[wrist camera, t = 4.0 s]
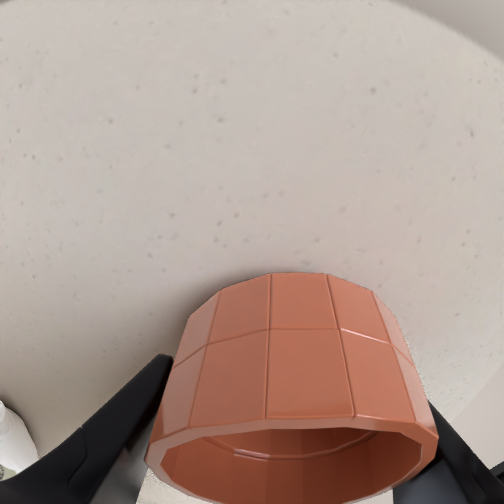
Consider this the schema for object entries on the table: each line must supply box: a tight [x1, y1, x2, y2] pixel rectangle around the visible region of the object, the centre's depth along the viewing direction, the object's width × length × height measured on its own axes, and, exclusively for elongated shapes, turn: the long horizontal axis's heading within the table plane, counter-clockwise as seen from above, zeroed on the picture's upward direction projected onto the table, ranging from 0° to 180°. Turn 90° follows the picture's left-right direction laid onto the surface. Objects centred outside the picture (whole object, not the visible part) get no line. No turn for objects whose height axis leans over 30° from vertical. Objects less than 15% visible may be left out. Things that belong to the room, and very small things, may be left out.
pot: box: [144, 272, 439, 504], centre depth 8 cm, size 7×7×4 cm
